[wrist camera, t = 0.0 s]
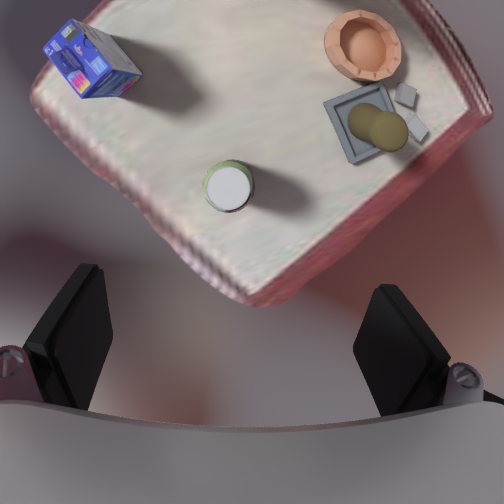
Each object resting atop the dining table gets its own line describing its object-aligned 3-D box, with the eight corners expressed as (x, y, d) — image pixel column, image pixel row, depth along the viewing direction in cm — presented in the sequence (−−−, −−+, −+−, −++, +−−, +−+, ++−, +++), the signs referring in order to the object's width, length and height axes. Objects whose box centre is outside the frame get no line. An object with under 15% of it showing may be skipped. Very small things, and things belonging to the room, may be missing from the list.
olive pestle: (391, 118, 41) (424, 129, 32) (370, 148, 44) (398, 167, 34) (360, 94, 40) (387, 98, 30) (339, 126, 42) (361, 139, 33)
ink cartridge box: (81, 58, 35) (29, 46, 22) (107, 32, 33) (63, 10, 20) (115, 100, 39) (71, 101, 26) (144, 75, 37) (108, 63, 24)
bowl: (311, 26, 36) (317, 21, 33) (371, 9, 34) (380, 3, 31) (344, 90, 40) (353, 89, 37) (400, 69, 39) (411, 68, 36)
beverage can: (226, 205, 47) (225, 236, 36) (198, 165, 44) (188, 185, 33) (261, 183, 46) (272, 208, 35) (234, 142, 43) (237, 154, 32)
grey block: (397, 83, 40) (403, 82, 38) (410, 89, 40) (416, 89, 39) (393, 100, 41) (399, 101, 40) (406, 106, 42) (412, 107, 40)
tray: (322, 103, 41) (325, 103, 40) (377, 81, 40) (381, 80, 38) (348, 162, 45) (352, 164, 44) (399, 138, 44) (404, 139, 43)
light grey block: (399, 124, 43) (406, 126, 41) (408, 113, 42) (416, 114, 40) (412, 139, 44) (419, 141, 42) (421, 128, 43) (428, 129, 41)
